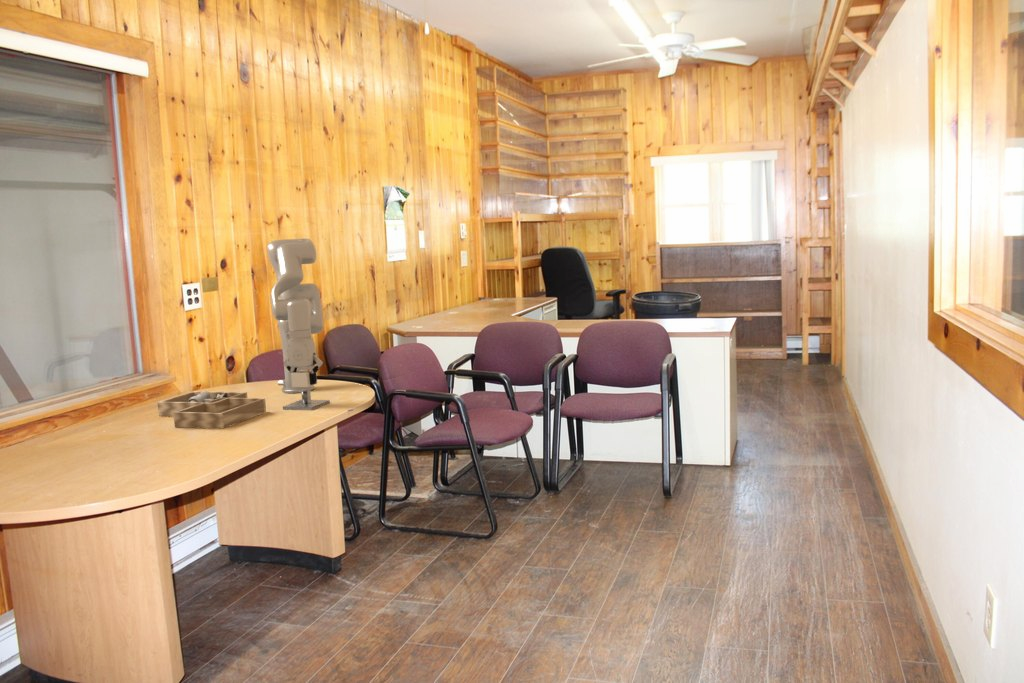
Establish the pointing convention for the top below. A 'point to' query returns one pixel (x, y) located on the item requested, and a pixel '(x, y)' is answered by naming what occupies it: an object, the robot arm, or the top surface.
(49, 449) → the top surface
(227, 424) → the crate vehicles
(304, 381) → the grey block
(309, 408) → the plate
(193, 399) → the clip-on lamp
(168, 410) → the tray
